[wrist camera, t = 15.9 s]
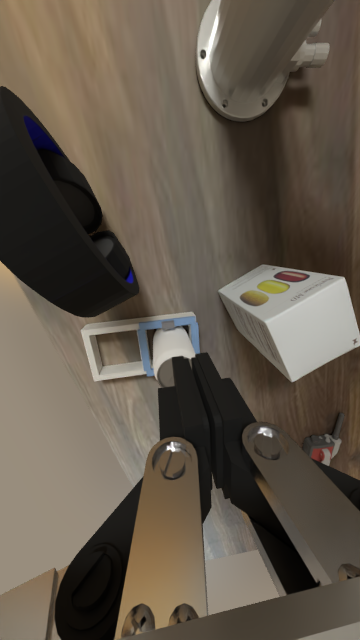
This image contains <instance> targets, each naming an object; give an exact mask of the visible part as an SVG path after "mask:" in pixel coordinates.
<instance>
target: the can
mask: <svg viewBox="0 0 360 640" xmlns="http://www.w3.org/2000/svg"><path fill="white" fill-rule="evenodd" d="M177 356H183V357H184V359H185V358H188V359H189V362H190V365H191V368H192V363H191V358H192V357H195V351H194V349H193V346H192V344H191V341H190V339H189V337H188V334H187V332H186V331H185V329H184V328H183V327H182V326H175V328H171V329H162V328H158V329H157V330H156V332H155V334H154V337H153V369H154V375H155V377H156V379H157V381H158V383H159V385H160V386H161V387H162V388H164V387H171V386H174V377H173V368H172V358H171V357H177Z"/></svg>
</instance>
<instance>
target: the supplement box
mask: <svg viewBox="0 0 360 640" xmlns="http://www.w3.org/2000/svg"><path fill="white" fill-rule="evenodd" d="M218 293H219V295H220V297H221V299H222V301H223V303H224V305H225V307H226V309H227V311H228V312H229V314H230V316H231V318H232V320H233V322H234V324H235V326H236V328H237V330H238V331H239V332H240V333H241V334H242V335H243V336H244V337H245V338H246V339H247V340H248V341H250V342H251V343H252V344H253V345H254V346H255V347H256V348H257V349H258V350H259V352H260V353H262V354H263V355H264V356H265V357H266V358H267V359H268V360H269V361H270V362H271V363H272V364H273V365H274V366H275V367H276V368H277V369H278V370H279V371H280V372H281V373H282V374H283V375H284V376H285V377H286V378H288V379H289V380H290V381H291V382H294V381H296V380H298V379H299V378H301V377H303V376H304V375H306V374H308V373H310V372H311V371H313V370H315V369H317V368H318V367H320V366H322V365H324V364H326V363H327V362H329V361H331V360H333V359H335V358H337V357H339V356H341V355H342V354H344V353H346V352H348V351H350V350H352V349H354V348H356V347H358V346H360V334H359V330H358V326H357V322H356V318H355V314H354V310H353V307H352V303H351V299H350V295H349V291H348V287H347V284H346V280H345V278H344V277H340V276H334V275H327V274H321V273H315V272H308V271H302V270H296V269H289V268H283V267H277V266H271V265H264V264H262V265H260V266H259V267H257V268H255V269H254V270H252V271H250V272H248V273H247V274H245V275H243V276H242V277H240V278H238V279H237V280H235V281H233V282H231V283H230V284H228V285H226V286H225V287H223V288H221V289H220V290H218Z"/></svg>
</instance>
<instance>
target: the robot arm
mask: <svg viewBox="0 0 360 640" xmlns="http://www.w3.org/2000/svg"><path fill="white" fill-rule="evenodd" d="M333 2H334V0H212V1H211V2H210V4H209V6H208V8H207V9H206V11H205V13H204V16H203V18H202V21H201V24H200V28H199V32H198V36H197V43H196V50H195V62H196V71H197V77H198V80H199V84H200V87H201V89H202V92H203V94H204V96H205V98H206V99H207V101H208V102H209V104H210V105H211V107H212V108H213V109H214V110H216V111H217V112H218V113H219V114H220V115H222V116H223V117H225V118H227V119H230V120H233V121H239V122H244V121H250V120H253V119H255V118H258V117H259V116H261V115H262V114H264V113H265V112H266V111H267V110H268V109H269V108H270V107H271V106H272V105H273V104H274V102H275V101H276V100H277V99H278V97H279V96H280V94H281V92H282V90H283V89H284V87H285V84H286V82H287V79H288V77H289V73H290V72H296V71H297V70H298V69H299V67H306V68H321V67H322V66H323V64H324V63H325V61H326V59H327V56H328V53H329V48H330V47H329V44H328V43H313V44H306V39H307V37H315V36H316V35H317V33H318V31H319V29H320V26H321V18H322V17H323V15H324V14H325V13H326V11H327V10H328V9H329V7H330V6H331V4H332V3H333ZM201 58H202V59H201ZM223 106H224V108H223ZM171 358H172V368H173V377H174V386H171V387H164V388H158V400H159V424H160V441H159V442H158V443H157V444H155V445H154V446H153V448H152V449H151V450H150V452H149V454H148V457H147V460H146V466H145V471H144V476H143V478H142V479H141V480H140V481H139V482H138V483H137V485H136V486H135V487H134V488H133V489H132V491H131V492H130V493H129V494H128V495H127V496H126V498H125V499H124V500H123V501H122V502H121V503H120V505H119V506H118V507H117V508H116V509H115V510H114V512H113V513H112V514H111V515H110V516H109V517H108V519H107V520H106V521H105V522H104V523H103V525H102V526H101V527H100V528H99V529H98V530H97V532H96V533H95V534H94V535H93V536H92V537H91V538H90V540H89V541H88V542H87V543H86V544H85V546H84V547H83V548H82V549H81V550H80V551H79V553H78V554H77V555H76V556H75V558H74V560H73V561H72V562H71V564H70V565H69V566H66V567H65V568H63V569H61V570H59V571H56V569H55V568H53V569H51V570H49V571H47V572H45V573H43V574H41V575H39V576H37V577H35V578H33V579H31V580H29V581H27V582H26V583H24V584H21V585H20V586H18V587H16V588H14V589H12V590H10V591H8V592H6V593H4V594H2V595H0V640H360V480H357V479H355V478H353V477H351V476H349V475H347V474H345V473H342V472H340V471H338V470H336V469H334V468H332V467H330V466H327V465H325V464H323V463H321V462H319V461H317V460H314V459H312V458H310V457H309V456H308V455H307V454H306V453H305V452H304V451H303V450H302V449H301V448H300V447H299V446H298V444H297V443H296V442H295V441H294V440H293V439H292V438H291V437H290V436H289V435H288V434H287V433H286V432H285V431H284V430H282V429H281V428H279V427H277V426H276V425H273V424H270V423H267V422H257V421H256V419H255V418H254V416H253V414H252V413H251V411H250V409H249V408H248V406H247V405H246V403H245V401H244V400H243V398H242V396H241V395H240V393H239V391H238V390H237V388H236V386H235V385H234V383H233V381H232V380H231V379H230V378H224V379H221V377H220V375H219V373H218V371H217V370H216V368H215V366H214V364H213V362H212V360H211V358H210V356H209V355H208V353H207V352H206V353H198V354H195V357H192V358H191V363H192V368H191V365H190V362H189V359H188V358H185V359H184V357H183V356H177V357H171ZM212 474H213V478H214V482H215V485H216V488H217V489H218V488H222V491H223V494H224V497H225V499H228V498H230V500H231V503H232V504H234V505H235V506H236V507H238V508H239V509H241V513H242V516H243V519H244V521H245V523H246V525H247V527H248V530H249V532H250V534H251V536H252V538H253V540H254V542H255V545H256V547H257V549H258V551H259V553H260V555H261V557H262V559H263V561H264V564H265V566H266V568H267V570H268V572H269V574H270V576H271V579H272V581H273V583H274V585H275V587H276V589H277V592H278V594H279V596H280V597H278V598H274V599H270V600H266V601H262V602H259V603H255V604H251V605H247V606H243V607H239V608H235V609H232V610H228V611H224V612H220V613H216V614H212V615H209V616H208V604H207V588H206V572H205V556H204V541H203V525H202V524H203V523H204V521H205V519H206V517H207V515H208V513H209V511H210V509H211V490H212Z"/></svg>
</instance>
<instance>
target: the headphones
mask: <svg viewBox="0 0 360 640" xmlns="http://www.w3.org/2000/svg"><path fill="white" fill-rule="evenodd" d="M101 222H102V211H101V207H100V205H99V203H98V201H97V199H96V197H95V195H94V193H93V191H92V189H91V187H90V185H89V183H88V182H87V180H86V178H85V176H84V175H83V174H82V173H81V172H80V171H79V169H78V168H77V167H76V166H75V165H74V164H72V163H71V162H70V160H69V159H68V158H67V156H66V155H65V154H64V152H63V151H62V150H61V148H60V147H59V145H58V144H57V143H56V141H55V140H54V139H53V137H52V136H51V135H50V133H49V132H48V131H47V129H46V128H45V127H44V126H43V124H42V123H41V122H40V121H39V119H38V118H37V117H36V116H35V115H34V114H33V112H32V111H31V110H30V109H29V108H28V107H27V106H26V105H25V104H24V103H23V101H22V100H21V99H20V98H19V97H17V96H16V95H15V94H14V93H13V92H11V91H10V90H9V89H7V88H6V87H3V86H1V87H0V261H1V262H2V263H3V264H4V265H5V266H6V267H7V268H8V269H9V270H10V271H11V272H12V273H13V274H15V275H16V276H17V277H18V278H19V279H20V280H21V281H23V282H24V283H25V284H26V285H28V286H29V287H30V288H32V289H33V290H34V291H36V292H37V293H38V294H40V295H41V296H42V297H44V298H45V299H47V300H48V301H50V302H51V303H53V304H54V305H56V306H58V307H59V308H61V309H63V310H65V311H67V312H69V313H71V314H73V315H76V316H80V317H95V316H97V315H99V314H101V313H103V312H105V311H107V310H109V309H110V308H112V307H114V306H116V305H118V304H120V303H122V302H124V301H125V300H127V299H129V298H131V297H133V296H135V295H137V294H138V293H139V286H138V282H137V279H136V276H135V273H134V270H133V268H132V265H131V262H130V258H129V256H128V255H127V253H126V251H125V249H124V248H123V247H122V245H121V244H120V242H119V241H118V239H117V237H116V236H115V234H114V233H112V232H110V231H101V232H98V233H96V234H94V235H92V236H90V237H89V235H88V234H90V233H92V232H94V231H96V230H97V229H98V227H99V226H100V225H101Z"/></svg>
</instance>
